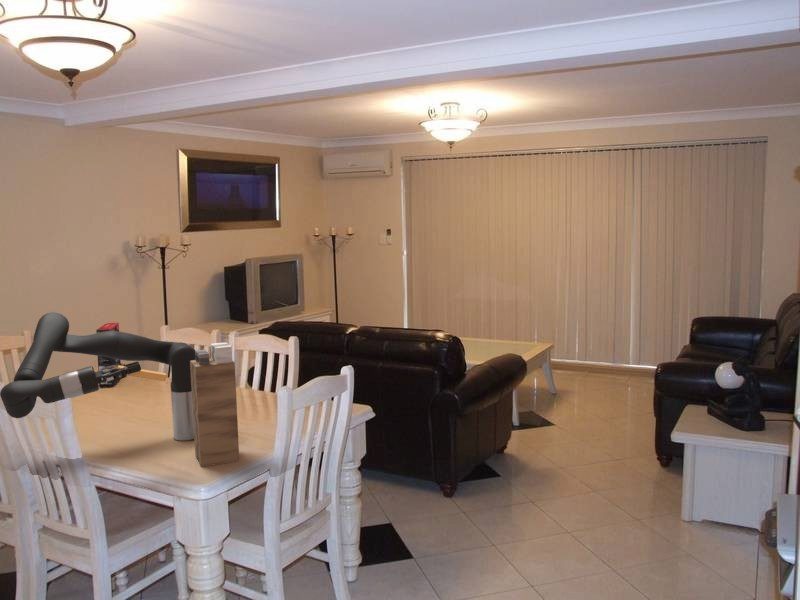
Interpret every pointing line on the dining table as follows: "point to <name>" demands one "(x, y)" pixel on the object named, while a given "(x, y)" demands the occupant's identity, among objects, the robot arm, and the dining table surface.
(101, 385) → the graphics card box
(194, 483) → the dining table surface
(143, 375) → the block
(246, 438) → the dining table surface
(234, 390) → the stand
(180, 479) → the dining table surface
